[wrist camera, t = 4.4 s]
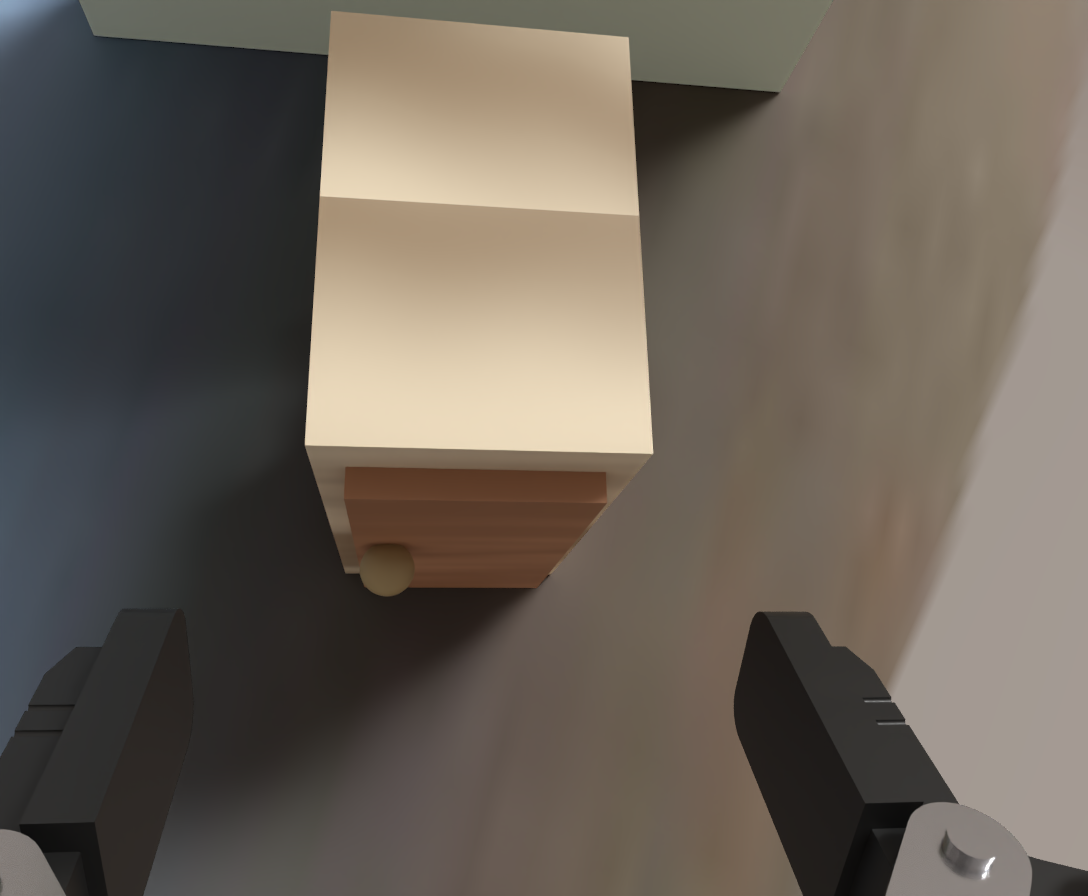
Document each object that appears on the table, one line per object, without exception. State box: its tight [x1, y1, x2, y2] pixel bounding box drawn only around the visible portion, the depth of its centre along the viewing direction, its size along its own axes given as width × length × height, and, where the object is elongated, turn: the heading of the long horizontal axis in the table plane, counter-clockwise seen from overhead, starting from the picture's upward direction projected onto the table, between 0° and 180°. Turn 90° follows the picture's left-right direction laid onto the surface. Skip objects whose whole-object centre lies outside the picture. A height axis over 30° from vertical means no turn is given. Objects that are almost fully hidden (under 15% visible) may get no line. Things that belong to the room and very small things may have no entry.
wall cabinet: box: [305, 11, 653, 596], centre depth 19 cm, size 9×5×10 cm, turn 1°
